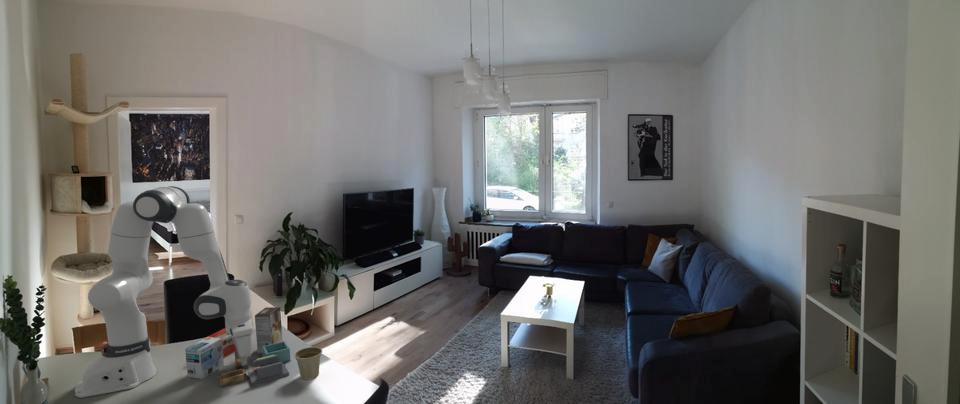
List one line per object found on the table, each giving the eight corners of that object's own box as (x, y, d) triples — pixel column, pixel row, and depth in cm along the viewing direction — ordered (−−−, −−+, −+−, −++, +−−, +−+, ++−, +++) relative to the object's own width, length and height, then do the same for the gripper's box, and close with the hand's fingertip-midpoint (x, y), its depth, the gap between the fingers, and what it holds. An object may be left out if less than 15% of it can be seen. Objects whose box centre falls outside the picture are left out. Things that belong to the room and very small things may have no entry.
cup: (267, 366, 169) (266, 354, 169) (263, 358, 176) (262, 346, 175) (290, 360, 174) (289, 348, 174) (285, 352, 181) (284, 341, 180)
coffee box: (268, 343, 189) (265, 306, 187) (283, 343, 189) (280, 306, 187) (257, 353, 180) (254, 315, 178) (272, 353, 180) (270, 315, 178)
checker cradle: (252, 385, 156) (251, 370, 156) (248, 374, 164) (247, 360, 163) (289, 375, 163) (288, 360, 163) (283, 365, 170) (282, 351, 170)
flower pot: (290, 375, 163) (289, 352, 162) (315, 366, 170) (314, 344, 169) (303, 384, 156) (301, 361, 155) (328, 374, 163) (327, 352, 162)
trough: (220, 387, 155) (220, 380, 155) (219, 381, 159) (218, 374, 159) (246, 380, 160) (246, 373, 159) (244, 374, 164) (244, 368, 163)
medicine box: (221, 360, 176) (220, 340, 175) (204, 357, 178) (203, 338, 177) (250, 343, 190) (249, 325, 189) (234, 341, 192) (233, 323, 191)
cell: (236, 372, 165) (235, 352, 164) (235, 368, 169) (233, 348, 168) (249, 369, 168) (247, 349, 167) (247, 365, 171) (245, 345, 170)
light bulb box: (202, 379, 161) (200, 350, 160) (186, 377, 162) (183, 348, 161) (225, 365, 171) (222, 337, 170) (209, 363, 173) (207, 336, 171)
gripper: (225, 317, 173) (228, 351, 174) (233, 334, 156) (236, 372, 158) (244, 313, 176) (247, 347, 178) (253, 330, 160) (256, 367, 162)
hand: (242, 359), depth 168 cm, fingers open, 8 cm apart
